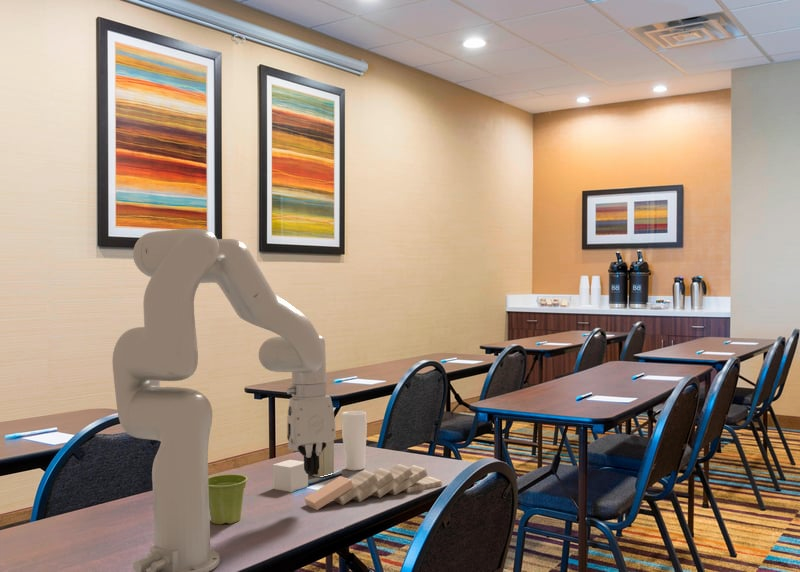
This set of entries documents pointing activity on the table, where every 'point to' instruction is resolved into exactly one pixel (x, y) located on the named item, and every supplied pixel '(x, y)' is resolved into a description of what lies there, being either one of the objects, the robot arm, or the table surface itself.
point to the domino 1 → (328, 492)
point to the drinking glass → (354, 438)
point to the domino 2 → (357, 486)
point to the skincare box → (326, 461)
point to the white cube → (289, 476)
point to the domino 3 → (375, 484)
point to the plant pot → (226, 497)
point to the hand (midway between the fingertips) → (311, 473)
